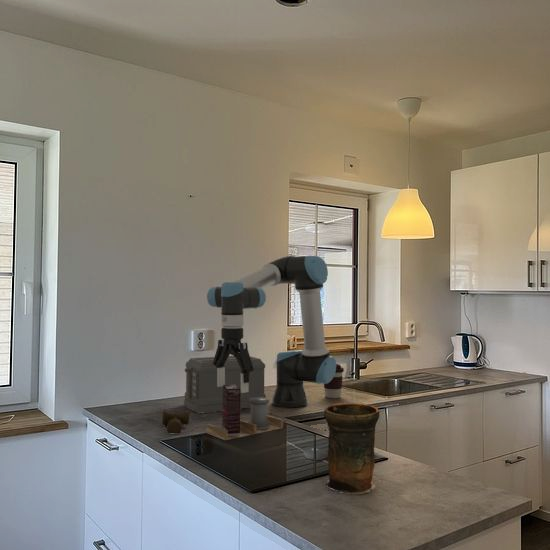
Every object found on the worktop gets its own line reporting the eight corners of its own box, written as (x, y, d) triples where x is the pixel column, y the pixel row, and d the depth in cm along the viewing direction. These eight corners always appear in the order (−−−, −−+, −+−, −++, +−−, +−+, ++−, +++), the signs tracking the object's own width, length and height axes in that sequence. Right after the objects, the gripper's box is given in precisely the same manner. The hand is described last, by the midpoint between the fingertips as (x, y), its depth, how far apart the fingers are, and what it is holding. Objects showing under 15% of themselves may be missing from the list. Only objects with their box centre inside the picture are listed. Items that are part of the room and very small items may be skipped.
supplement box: (240, 435, 188) (241, 388, 188) (226, 436, 186) (226, 389, 187) (235, 429, 196) (235, 384, 196) (221, 430, 195) (222, 384, 195)
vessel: (391, 484, 146) (390, 407, 146) (360, 500, 135) (359, 418, 135) (345, 471, 155) (344, 399, 155) (313, 486, 145) (312, 409, 145)
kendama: (159, 436, 192) (163, 421, 212) (187, 436, 193) (189, 421, 213) (160, 419, 192) (164, 405, 212) (188, 419, 193) (189, 405, 213)
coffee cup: (343, 395, 264) (343, 363, 265) (343, 399, 255) (344, 366, 255) (322, 394, 265) (322, 362, 266) (321, 398, 256) (322, 365, 256)
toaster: (177, 405, 239) (178, 358, 239) (249, 399, 255) (249, 354, 255) (192, 415, 222) (192, 363, 223) (268, 407, 238) (268, 359, 239)
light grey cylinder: (260, 424, 204) (260, 396, 204) (273, 428, 198) (273, 399, 199) (244, 427, 199) (244, 399, 199) (257, 431, 194) (257, 402, 194)
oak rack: (263, 424, 207) (263, 413, 207) (282, 430, 199) (282, 419, 199) (206, 436, 191) (206, 424, 191) (225, 443, 183) (225, 430, 183)
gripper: (203, 325, 199) (203, 385, 199) (245, 330, 180) (246, 396, 180) (220, 324, 204) (220, 382, 204) (263, 329, 185) (264, 393, 185)
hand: (232, 389), depth 192 cm, fingers open, 13 cm apart
